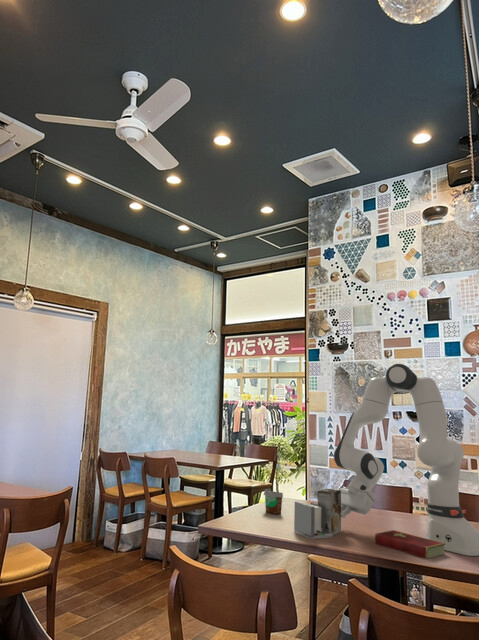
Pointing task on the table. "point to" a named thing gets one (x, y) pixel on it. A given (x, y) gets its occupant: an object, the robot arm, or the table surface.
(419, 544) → the hardcover book
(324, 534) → the gauge housing
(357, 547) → the table surface
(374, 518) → the table surface
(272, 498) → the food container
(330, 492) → the coffee box
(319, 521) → the block
